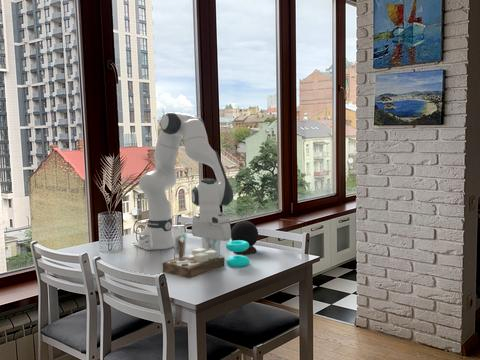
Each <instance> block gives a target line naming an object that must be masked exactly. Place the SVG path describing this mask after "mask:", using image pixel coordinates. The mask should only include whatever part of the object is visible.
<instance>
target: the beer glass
mask: <svg viewBox="0 0 480 360" xmlns="http://www.w3.org/2000/svg"><path fill="white" fill-rule="evenodd" d="M172 241H173V246H174V247H173V249H174V252H173V259H176V258H179V257H182V256H185V255H188V254H187V243H188V229H187V226H186V225H183V224H177V225H172Z"/></svg>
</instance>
